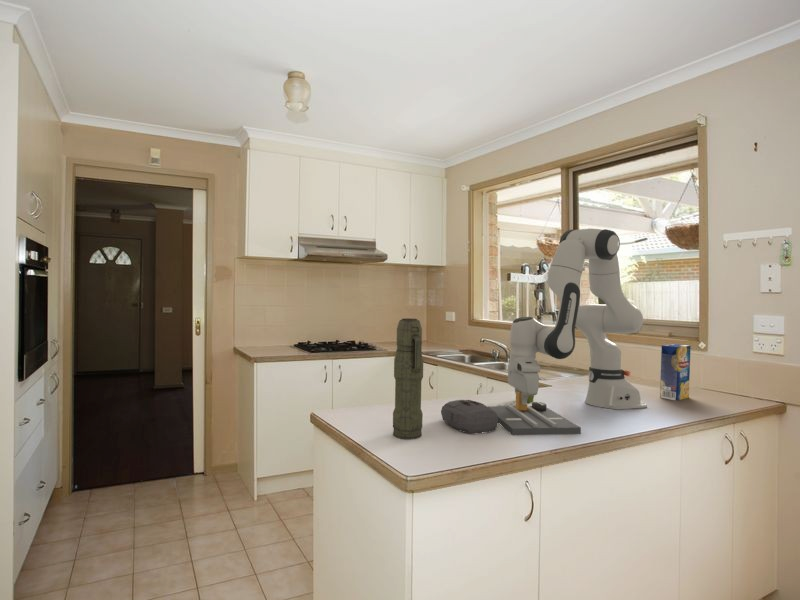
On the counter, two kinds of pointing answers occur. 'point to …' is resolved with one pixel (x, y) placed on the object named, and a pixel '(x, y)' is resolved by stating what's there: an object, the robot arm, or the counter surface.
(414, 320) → the thermos
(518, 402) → the fader knob
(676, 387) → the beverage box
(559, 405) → the counter surface
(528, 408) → the console board
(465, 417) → the small grey backpack
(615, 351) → the robot arm
